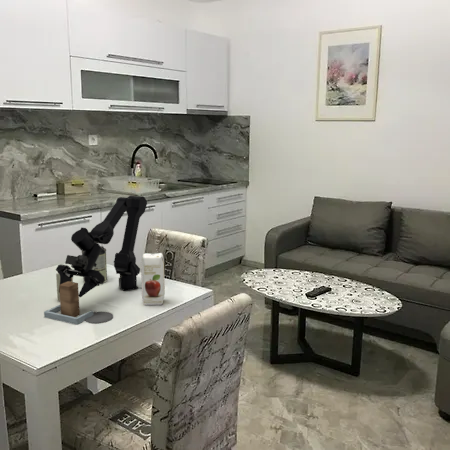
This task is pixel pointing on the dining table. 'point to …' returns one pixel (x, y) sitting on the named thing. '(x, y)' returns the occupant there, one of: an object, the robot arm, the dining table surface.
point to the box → (59, 284)
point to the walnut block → (69, 299)
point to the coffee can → (100, 265)
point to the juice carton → (152, 279)
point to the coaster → (100, 317)
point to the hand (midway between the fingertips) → (69, 294)
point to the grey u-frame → (54, 315)
